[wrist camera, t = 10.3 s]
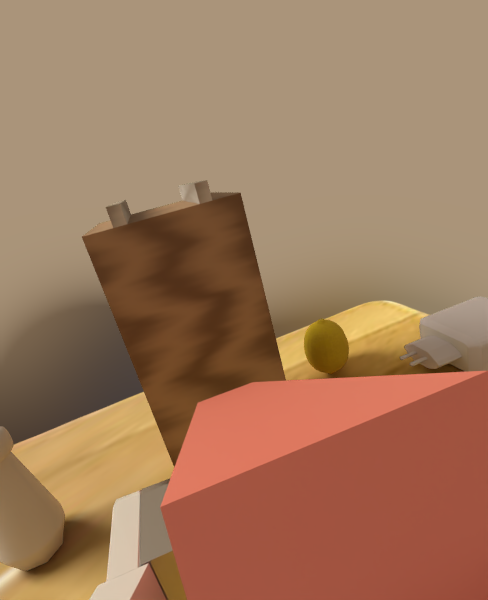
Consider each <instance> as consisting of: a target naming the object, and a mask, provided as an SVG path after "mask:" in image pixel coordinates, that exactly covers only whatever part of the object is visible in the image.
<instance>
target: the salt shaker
mask: <svg viewBox="0 0 488 600" xmlns="http://www.w3.org/2000/svg"><path fill="white" fill-rule="evenodd" d="M12 448H13V441H12V439H11V436H10V434H9V433H8V431H7V430H6V429H5V428H4V427H2V426H0V562H2V563H4V564H6V565H8V566H11V567H14V568H17V569H20V570H23V571H28V570H30V569H33V568H35V567H37V566H40V565H42V564H44V563H47V562H48V561H49V560H50V558H51V557H52V556H53V555H54V553H55V552H56V551H57V550H58V549H59V547H60V546H61V545H62V544H63V530H64V520H65V514H64V511H63V509H62V506H61V504H60V503H59V502H58V501H57V500H56V499H55V497H54V496H53V495H52V494H51V493H50V492H49V491H48V490H47V489H46V488H45V487H44V486H43V485H42V484H41V483H40V482H39V481H38V480H37V479H36V478H35V476H34V475H33V474H32V473H31V472H30V471H29V470H28V469H27V468H26V467H25V466H24V465H23V464H22V463H21V462H20V461H19V460H18V459H17V458H16V457H15V455H14V454H13V453H12V452H11V450H12Z"/></svg>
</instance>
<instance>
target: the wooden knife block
mask: <svg viewBox="0 0 488 600" xmlns="http://www.w3.org/2000/svg"><path fill="white" fill-rule="evenodd" d="M178 187H179V190H180V194H181V197H182V201H179V202H176V203H172V204H168V205H165V206H161V207H158V208H154V209H150V210H146V211H143V212H139V213H136V214H132V215H131V214H130V211H129V208H128V205H127V202H126V200H124V201H121V202H117V203H114V204H112V205H110V206H108V207H106V209H107V212H108V215H109V217H110V221H106V222H103V223H99V224H98V225H97V226H95V227H94V228H93V229H91V230H90V231H89V232H87V233H86V234H85V235H84V236H82V238H83V241H84V243H85V246H86V248H87V251H88V253H89V256H90V258H91V261H92V263H93V266H94V268H95V271H96V273H97V275H98V278H99V281H100V283H101V286H102V288H103V291H104V293H105V296H106V298H107V301H108V303H109V306H110V308H111V311H112V313H113V315H114V318H115V321H116V323H117V326H118V328H119V331H120V333H121V335H122V338H123V340H124V343H125V345H126V348H127V350H128V353H129V355H130V358H131V360H132V363H133V365H134V368H135V370H136V373H137V375H138V378H139V380H140V383H141V385H142V387H143V390H144V393H145V395H146V398H147V400H148V403H149V405H150V408H151V410H152V413H153V415H154V418H155V420H156V423H157V425H158V428H159V430H160V433H161V435H162V438H163V440H164V443H165V445H166V448H167V450H168V452H169V455H170V457H171V460H172V462H173V465H174V467H175V465H176V462H177V459H178V456H179V454H180V451H181V448H182V445H183V442H184V440H185V437H186V434H187V431H188V429H189V426H190V423H191V420H192V418H193V415H194V412H195V409H196V406H197V404H198V402H201V401H204V400H206V399H209V398H212V397H214V396H217V395H220V394H222V393H225V392H228V391H231V390H233V389H236V388H239V387H241V386H244V385H247V384H249V383H252V382H268V381H286V379H285V375H284V370H283V366H282V362H281V358H280V354H279V350H278V346H277V342H276V338H275V333H274V329H273V325H272V321H271V317H270V313H269V309H268V304H267V300H266V296H265V292H264V288H263V284H262V280H261V276H260V272H259V267H258V263H257V259H256V255H255V251H254V247H253V243H252V238H251V234H250V230H249V226H248V222H247V218H246V214H245V210H244V205H243V201H242V197H241V193H210V190H209V186H208V182H207V180H206V181H200V182H195V183H189V184H184V185H181V186H178Z"/></svg>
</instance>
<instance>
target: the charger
mask: <svg viewBox="0 0 488 600" xmlns="http://www.w3.org/2000/svg"><path fill="white" fill-rule="evenodd" d="M420 337H421V339H419V340H417V341H414V342H412V343H409V344H407V345H405V346H404V348H405V349H406V351H407V353H408V354H406V355H403V356H401V357H400V360H404V359H406V358H409V357H412V358H413V359H414V360H415V361H413V362H411V363H410V366H414V365H417V364H419V363H420V364H421V365H423V366H425V367H427V368H428V369H437V368H439V367H441V366H444V365H446V364H448V363H449V364H451V365H453V366H455V367H457V368H459V369H461V370H463V371H465V372H469V371H488V298H485V297H475V298H473V299H470V300H467V301H465V302H462V303H460V304H457V305H455V306H452V307H449V308H447V309H444V310H442V311H439V312H437V313H434V314H432V315H429V316H427V317H424V318H422V319H421V320H420Z"/></svg>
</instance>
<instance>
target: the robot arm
mask: <svg viewBox="0 0 488 600" xmlns="http://www.w3.org/2000/svg"><path fill="white" fill-rule="evenodd" d="M169 481H170V479H167V480H165V481H162V482H159V483H157V484H154V485H152V486H149V487H146V488H144V489H142V490H140V491H137V492H134V493H132V494H129V495H127V496H124V497H121V498H119V499H117V500H116V502H115V504H114V506H113V514H112V525H111V537H110V548H109V559H108V570H107V581H106V582H104V583H102V584H100V585H98V586H97V588H96V589H95V591H94V593H93V594H92V596H91V598H90V599H89V600H187V598H186V594H185V591H184V587H183V584H182V581H181V577H180V574H179V570H178V567H177V563H176V560H175V556H174V553H173V550H172V546H171V543H170V539H169V536H168V532H167V529H166V525H165V522H164V519H163V515H162V512H161V508H160V506H161V503H162V501H163V498H164V495H165V492H166V490H167V487H168V484H169Z"/></svg>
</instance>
